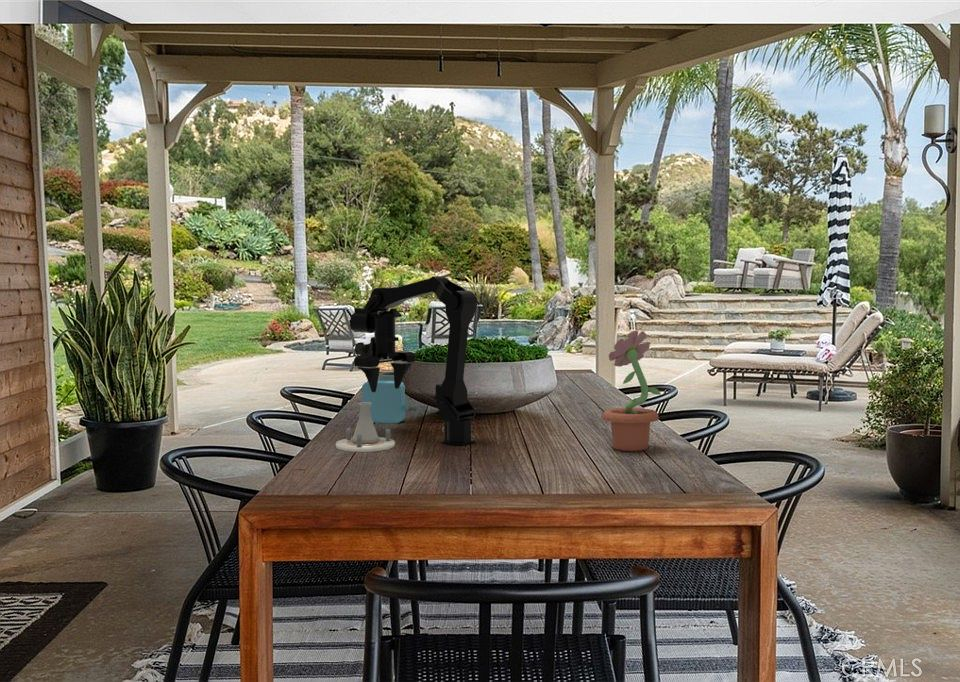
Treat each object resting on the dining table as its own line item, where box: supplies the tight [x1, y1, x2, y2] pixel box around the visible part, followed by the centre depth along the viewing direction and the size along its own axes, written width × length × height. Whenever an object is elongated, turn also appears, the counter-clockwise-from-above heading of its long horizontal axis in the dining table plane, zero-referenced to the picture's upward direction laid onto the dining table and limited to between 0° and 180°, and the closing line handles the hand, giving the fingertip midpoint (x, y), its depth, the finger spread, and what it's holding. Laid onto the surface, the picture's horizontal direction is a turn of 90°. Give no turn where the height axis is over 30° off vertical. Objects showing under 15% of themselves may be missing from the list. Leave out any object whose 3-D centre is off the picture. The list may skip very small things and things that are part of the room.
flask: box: [351, 401, 380, 444], centre depth 233 cm, size 7×7×10 cm
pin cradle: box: [335, 427, 396, 453], centre depth 233 cm, size 15×15×4 cm
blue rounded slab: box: [361, 380, 406, 424], centre depth 270 cm, size 12×4×12 cm, turn 79°
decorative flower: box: [602, 330, 662, 452], centre depth 228 cm, size 15×14×30 cm
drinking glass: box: [378, 370, 411, 412], centre depth 291 cm, size 10×10×12 cm
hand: (385, 390), depth 250 cm, fingers open, 9 cm apart
